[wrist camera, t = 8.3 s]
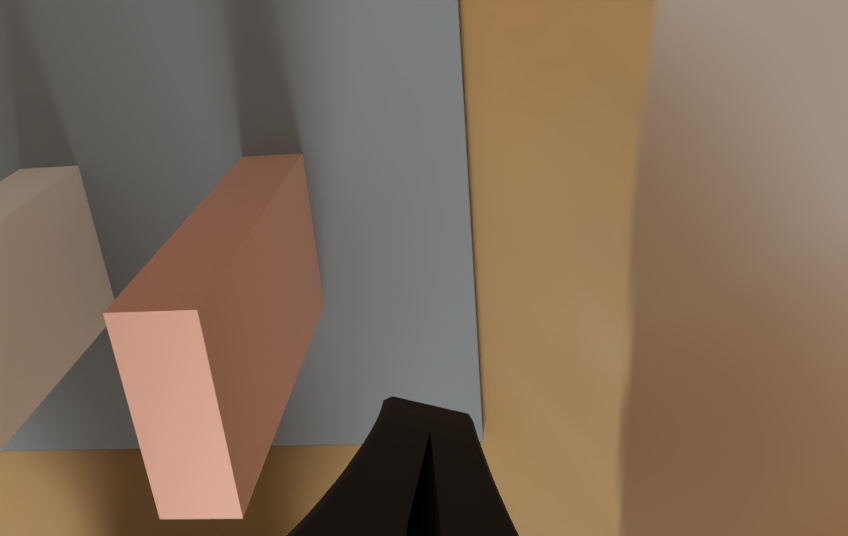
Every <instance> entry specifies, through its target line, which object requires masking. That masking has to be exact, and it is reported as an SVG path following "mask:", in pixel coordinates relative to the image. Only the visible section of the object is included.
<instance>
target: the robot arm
mask: <svg viewBox="0 0 848 536" xmlns="http://www.w3.org/2000/svg"><path fill="white" fill-rule="evenodd" d="M287 536H519V535H518V533H517V531H516V529H515V527H514V525H513V523H512V521H511V519H510V516H509V514H508V512H507V510H506V507H505V505H504V503H503V501H502V498H501V496H500V494H499V492H498V489H497V487H496V485H495V482H494V480H493V477H492V475H491V472H490V469H489V467H488V464H487V462H486V459H485V456H484V453H483V451H482V448H481V445H480V442H479V439H478V435H477V432H476V429H475V425H474V422H473V420H472V418H471V417H470V415H469V414H467V413H463V412H459V411H454V410H450V409H446V408H441V407H437V406H433V405H428V404H424V403H420V402H415V401H411V400H407V399H403V398H398V397H394V396H391V397H389V398H387V399H385V400H383V404H382V408H381V411H380V413H379V415H378V418H377V420H376V422H375V424H374V426H373V427H372V429H371V431H370V433H369V434H368V436H367V438H366V439H365V441H364V443H363V444H362V446H361V447H360V449H359V450H358V452H357V453H356V454H355V456H354V457H353V459H352V460H351V462H350V463H349V464H348V466H347V467H346V469H345V470H344V471H343V473H342V474H341V475H340V477H339V478H338V479H337V480H336V482H335V483H334V484H333V485H332V486H331V488H330V489H329V490H328V491H327V492H326V494H325V495H324V496H323V497H322V498H321V499H320V501H319V502H318V503H317V504H316V505H315V507H314V508H313V509H312V510H311V511H310V512H309V513H308V514H307V515H306V516H305V517H304V519H303V520H302V521H301V522H300V523H299V524H298V525H297V526H296V527H295V528H294V529H293V530H292V531H291V532H290V533H289V534H288V535H287Z"/></svg>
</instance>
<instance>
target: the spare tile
mask: <svg viewBox="0 0 848 536" xmlns="http://www.w3.org/2000/svg"><path fill="white" fill-rule="evenodd" d="M323 308H324V299H323V292H322V285H321V278H320V271H319V263H318V256H317V249H316V242H315V235H314V228H313V221H312V214H311V207H310V200H309V193H308V186H307V179H306V172H305V165H304V158H303V154H284V155H265V156H245V157H241V158H240V159H239V160H238V162H237V163H236V164H235V165H234V166H233V167H232V168H231V169H230V171H229V172H228V173H227V174H226V175H225V176H224V177H223V178H222V180H221V181H220V182H219V183H218V184H217V185H216V186H215V187H214V189H213V190H212V191H211V192H210V193H209V194H208V195H207V196H206V198H205V199H204V200H203V201H202V202H201V203H200V204H199V205H198V207H197V208H196V209H195V210H194V211H193V212H192V213H191V214H190V216H189V217H188V218H187V219H186V220H185V221H184V222H183V223H182V225H181V226H180V227H179V228H178V229H177V230H176V231H175V232H174V234H173V235H172V236H171V237H170V238H169V239H168V240H167V242H166V243H165V244H164V245H163V246H162V247H161V248H160V249H159V251H158V252H157V253H156V254H155V255H154V256H153V257H152V258H151V260H150V261H149V262H148V263H147V264H146V265H145V266H144V267H143V269H142V270H141V271H140V272H139V273H138V274H137V275H136V276H135V278H134V279H133V280H132V281H131V282H130V283H129V284H128V285H127V287H126V288H125V289H124V290H123V291H122V292H121V293H120V294H119V296H118V297H117V298H116V299H115V300H114V301H113V302H112V303H111V305H110V306H109V307H108V308H107V309H106V310H105V311H104V312H103V315H104V319H105V322H106V326H107V330H108V333H109V337H110V340H111V344H112V348H113V351H114V355H115V359H116V362H117V366H118V369H119V373H120V377H121V380H122V384H123V388H124V391H125V395H126V399H127V402H128V406H129V409H130V413H131V417H132V420H133V424H134V428H135V431H136V435H137V438H138V442H139V446H140V449H141V453H142V457H143V460H144V464H145V468H146V471H147V475H148V478H149V482H150V486H151V489H152V493H153V497H154V500H155V504H156V507H157V511H158V515H159V518H160V519H243V517H244V515H245V512H246V509H247V507H248V504H249V502H250V499H251V496H252V494H253V491H254V489H255V486H256V483H257V481H258V478H259V475H260V473H261V470H262V468H263V465H264V462H265V460H266V457H267V455H268V452H269V449H270V447H271V444H272V441H273V439H274V436H275V434H276V431H277V428H278V426H279V423H280V421H281V418H282V415H283V413H284V410H285V407H286V405H287V402H288V400H289V397H290V394H291V392H292V389H293V386H294V384H295V381H296V379H297V376H298V373H299V371H300V368H301V366H302V363H303V360H304V358H305V355H306V352H307V350H308V347H309V345H310V342H311V339H312V337H313V334H314V332H315V329H316V326H317V324H318V321H319V318H320V316H321V313H322V311H323Z"/></svg>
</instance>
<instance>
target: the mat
mask: <svg viewBox="0 0 848 536" xmlns="http://www.w3.org/2000/svg"><path fill="white" fill-rule="evenodd" d="M284 154H303V158H304V165H305V172H306V179H307V186H308V193H309V200H310V207H311V214H312V221H313V228H314V235H315V242H316V249H317V256H318V263H319V271H320V278H321V285H322V292H323V299H324V308H323V311H322V313H321V316H320V318H319V321H318V324H317V326H316V329H315V332H314V334H313V337H312V339H311V342H310V345H309V347H308V350H307V352H306V355H305V358H304V360H303V363H302V366H301V368H300V371H299V373H298V376H297V379H296V381H295V384H294V386H293V389H292V392H291V394H290V397H289V400H288V402H287V405H286V407H285V410H284V413H283V415H282V418H281V421H280V423H279V426H278V428H277V431H276V434H275V436H274V439H273V441H272V444H271V446H299V445H349V444H363V443H364V441H365V439H366V438H367V436H368V434H369V433H370V431H371V429H372V427H373V426H374V424H375V422H376V420H377V418H378V415H379V413H380V411H381V408H382V404H383V400H385V399H387V398H389V397H391V396H394V397H398V398H403V399H407V400H411V401H415V402H420V403H424V404H428V405H433V406H437V407H441V408H446V409H450V410H454V411H459V412H463V413H467V414H469V415H470V417H471V418H472V420H473V422H474V425H475V429H476V432H477V435H478V439H479V442H483V421H482V403H481V386H480V368H479V351H478V333H477V316H476V298H475V281H474V263H473V246H472V228H471V211H470V194H469V176H468V159H467V141H466V124H465V106H464V89H463V71H462V54H461V36H460V19H459V2H458V0H0V181H2V180H3V179H5V178H6V177H8V176H10V175H11V174H13V173H15V172H16V171H18V170H19V169H26V168H44V167H63V166H78V167H79V171H80V174H81V178H82V182H83V185H84V189H85V193H86V196H87V200H88V204H89V208H90V211H91V215H92V219H93V222H94V226H95V230H96V233H97V237H98V241H99V244H100V248H101V252H102V256H103V259H104V263H105V267H106V270H107V274H108V278H109V281H110V285H111V289H112V292H113V296H114V300H115V299H116V298H117V297H118V296H119V294H120V293H121V292H122V291H123V290H124V289H125V288H126V287H127V285H128V284H129V283H130V282H131V281H132V280H133V279H134V278H135V276H136V275H137V274H138V273H139V272H140V271H141V270H142V269H143V267H144V266H145V265H146V264H147V263H148V262H149V261H150V260H151V258H152V257H153V256H154V255H155V254H156V253H157V252H158V251H159V249H160V248H161V247H162V246H163V245H164V244H165V243H166V242H167V240H168V239H169V238H170V237H171V236H172V235H173V234H174V232H175V231H176V230H177V229H178V228H179V227H180V226H181V225H182V223H183V222H184V221H185V220H186V219H187V218H188V217H189V216H190V214H191V213H192V212H193V211H194V210H195V209H196V208H197V207H198V205H199V204H200V203H201V202H202V201H203V200H204V199H205V198H206V196H207V195H208V194H209V193H210V192H211V191H212V190H213V189H214V187H215V186H216V185H217V184H218V183H219V182H220V181H221V180H222V178H223V177H224V176H225V175H226V174H227V173H228V172H229V171H230V169H231V168H232V167H233V166H234V165H235V164H236V163H237V162H238V160H239V159H240V158H241V157H245V156H265V155H284ZM98 449H140V446H139V442H138V438H137V435H136V431H135V428H134V424H133V420H132V417H131V413H130V409H129V406H128V402H127V399H126V395H125V391H124V388H123V384H122V380H121V377H120V373H119V369H118V366H117V362H116V359H115V355H114V351H113V348H112V344H111V340H110V337H109V333H108V330H107V326H106V327H105V329H104V330H103V331H102V332H101V333H100V334H99V336H98V337H97V338H96V339H95V340H94V341H93V343H92V344H91V345H90V346H89V347H88V348H87V350H86V351H85V352H84V353H83V354H82V355H81V357H80V358H79V359H78V360H77V361H76V362H75V364H74V365H73V366H72V367H71V368H70V370H69V371H68V372H67V373H66V374H65V375H64V377H63V378H62V379H61V380H60V381H59V382H58V384H57V385H56V386H55V387H54V388H53V389H52V391H51V392H50V393H49V394H48V395H47V396H46V398H45V399H44V400H43V401H42V402H41V403H40V405H39V406H38V407H37V408H36V409H35V410H34V412H33V413H32V414H31V415H30V416H29V417H28V419H27V420H26V421H25V422H24V423H23V425H22V426H21V427H20V428H19V429H18V430H17V432H16V433H15V434H14V435H13V436H12V437H11V439H10V440H9V441H8V442H7V443H6V444H5V446H4V447H3V448H2V449H1V450H0V451H48V450H98Z"/></svg>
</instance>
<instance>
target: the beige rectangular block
mask: <svg viewBox="0 0 848 536" xmlns="http://www.w3.org/2000/svg"><path fill="white" fill-rule="evenodd" d="M113 301H114V296H113V292H112V289H111V285H110V281H109V278H108V274H107V270H106V267H105V263H104V259H103V256H102V252H101V248H100V244H99V241H98V237H97V233H96V230H95V226H94V222H93V219H92V215H91V211H90V208H89V204H88V200H87V196H86V193H85V189H84V185H83V182H82V178H81V174H80V171H79V167H78V166H63V167H44V168H26V169H19V170H18V171H16V172H15V173H13V174H11V175H10V176H8V177H6V178H5V179H3V180H2V181H0V450H1V449H2V448H3V447H4V446H5V444H6V443H7V442H8V441H9V440H10V439H11V437H12V436H13V435H14V434H15V433H16V432H17V430H18V429H19V428H20V427H21V426H22V425H23V423H24V422H25V421H26V420H27V419H28V417H29V416H30V415H31V414H32V413H33V412H34V410H35V409H36V408H37V407H38V406H39V405H40V403H41V402H42V401H43V400H44V399H45V398H46V396H47V395H48V394H49V393H50V392H51V391H52V389H53V388H54V387H55V386H56V385H57V384H58V382H59V381H60V380H61V379H62V378H63V377H64V375H65V374H66V373H67V372H68V371H69V370H70V368H71V367H72V366H73V365H74V364H75V362H76V361H77V360H78V359H79V358H80V357H81V355H82V354H83V353H84V352H85V351H86V350H87V348H88V347H89V346H90V345H91V344H92V343H93V341H94V340H95V339H96V338H97V337H98V336H99V334H100V333H101V332H102V331H103V330H104V329H105V327H106V322H105V319H104V315H103V312H104V311H105V310H106V309H107V308H108V307H109V306H110V305H111V303H112V302H113Z"/></svg>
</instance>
